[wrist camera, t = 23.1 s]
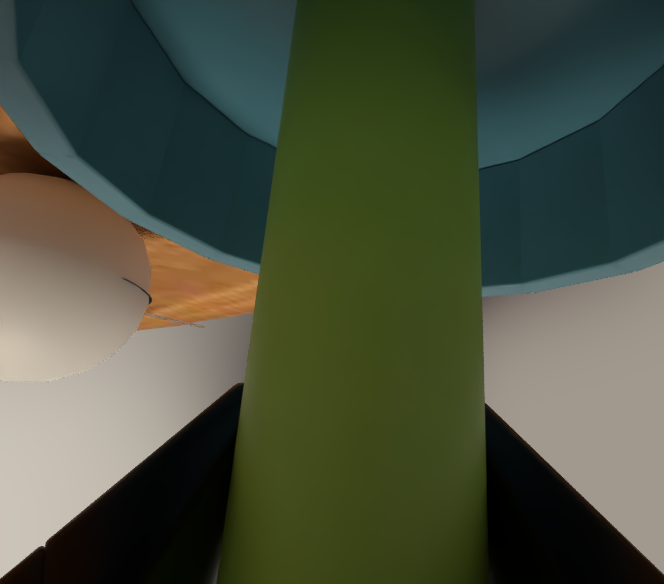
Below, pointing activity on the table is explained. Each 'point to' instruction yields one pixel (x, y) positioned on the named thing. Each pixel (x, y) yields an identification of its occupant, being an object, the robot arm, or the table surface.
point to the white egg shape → (65, 279)
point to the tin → (266, 107)
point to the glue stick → (368, 312)
